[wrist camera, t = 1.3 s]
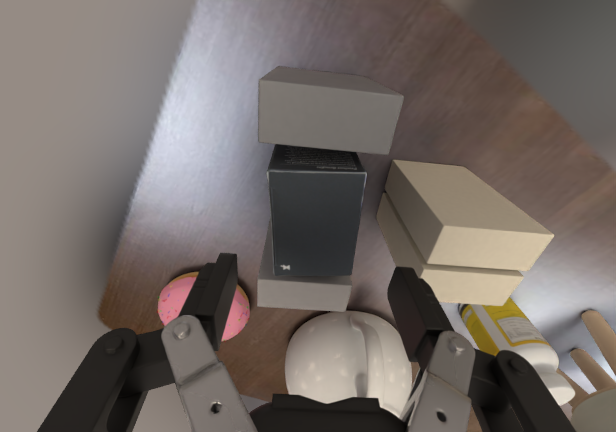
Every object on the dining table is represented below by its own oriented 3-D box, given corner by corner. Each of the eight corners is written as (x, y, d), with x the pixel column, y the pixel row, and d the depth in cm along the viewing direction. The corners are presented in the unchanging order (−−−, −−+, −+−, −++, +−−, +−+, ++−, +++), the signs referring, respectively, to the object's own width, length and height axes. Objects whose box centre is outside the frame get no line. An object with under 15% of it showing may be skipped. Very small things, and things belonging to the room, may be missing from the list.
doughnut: (196, 249, 31) (182, 275, 27) (270, 295, 35) (266, 323, 31) (150, 296, 35) (132, 324, 31) (221, 332, 39) (212, 361, 35)
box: (337, 203, 27) (352, 278, 19) (281, 202, 27) (270, 277, 18) (345, 124, 23) (369, 173, 14) (279, 122, 23) (264, 170, 14)
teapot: (428, 344, 41) (476, 461, 29) (332, 384, 47) (341, 494, 36) (360, 277, 33) (389, 400, 22) (255, 336, 39) (235, 455, 28)
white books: (392, 159, 25) (443, 225, 16) (464, 166, 25) (555, 235, 16) (375, 217, 28) (409, 300, 19) (439, 222, 29) (502, 306, 20)
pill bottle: (463, 324, 38) (517, 419, 28) (451, 297, 35) (507, 394, 25) (511, 308, 37) (587, 404, 27) (503, 279, 34) (585, 375, 24)
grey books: (277, 65, 21) (258, 78, 12) (365, 76, 21) (405, 95, 13) (271, 232, 29) (257, 306, 21) (334, 237, 30) (345, 312, 21)
